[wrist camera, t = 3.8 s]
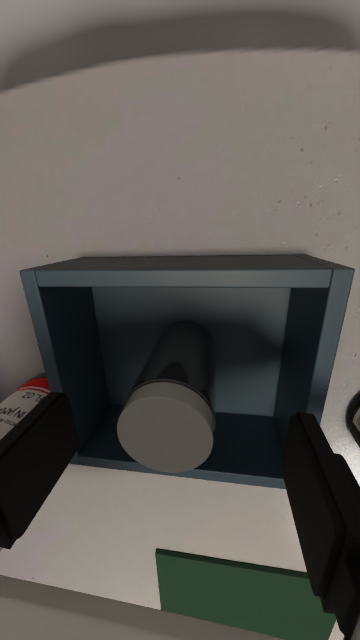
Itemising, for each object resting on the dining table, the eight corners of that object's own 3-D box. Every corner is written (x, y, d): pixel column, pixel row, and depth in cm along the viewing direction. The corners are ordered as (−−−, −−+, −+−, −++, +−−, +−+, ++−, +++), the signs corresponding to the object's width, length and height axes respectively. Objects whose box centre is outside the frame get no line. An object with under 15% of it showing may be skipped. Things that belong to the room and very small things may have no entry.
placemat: (164, 632, 34) (164, 638, 34) (156, 548, 27) (155, 554, 27) (314, 664, 32) (315, 671, 31) (347, 579, 25) (349, 586, 24)
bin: (105, 405, 21) (68, 464, 16) (80, 257, 17) (18, 270, 11) (281, 419, 19) (305, 491, 14) (306, 254, 14) (355, 268, 9)
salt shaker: (159, 371, 18) (120, 469, 11) (155, 319, 17) (107, 391, 9) (215, 374, 18) (214, 480, 10) (217, 320, 16) (217, 398, 9)
